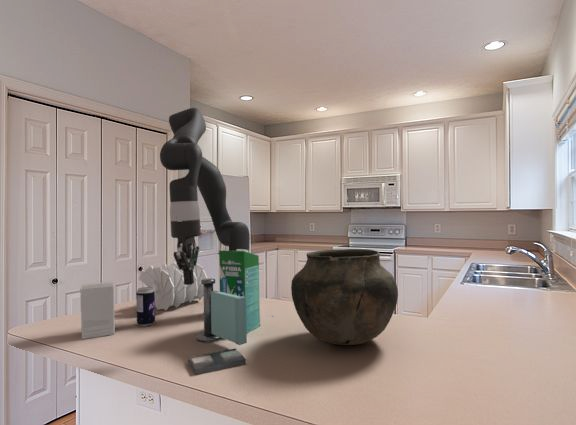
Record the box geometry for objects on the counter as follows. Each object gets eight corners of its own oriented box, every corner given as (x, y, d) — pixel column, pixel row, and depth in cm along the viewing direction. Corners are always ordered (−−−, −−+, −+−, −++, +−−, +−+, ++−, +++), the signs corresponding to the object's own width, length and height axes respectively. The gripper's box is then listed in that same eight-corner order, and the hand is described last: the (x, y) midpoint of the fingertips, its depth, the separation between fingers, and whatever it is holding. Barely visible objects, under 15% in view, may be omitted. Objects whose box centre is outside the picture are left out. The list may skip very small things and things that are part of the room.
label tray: (235, 353, 94) (235, 346, 94) (246, 364, 87) (245, 357, 87) (188, 362, 89) (188, 355, 89) (195, 374, 82) (195, 367, 82)
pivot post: (217, 332, 111) (216, 276, 111) (224, 339, 105) (223, 280, 105) (194, 336, 108) (193, 279, 108) (199, 343, 102) (198, 282, 102)
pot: (273, 356, 91) (271, 257, 91) (309, 321, 121) (308, 246, 121) (394, 372, 81) (392, 260, 81) (401, 329, 111) (400, 247, 111)
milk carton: (260, 326, 117) (258, 248, 117) (245, 334, 109) (243, 250, 109) (236, 323, 121) (234, 247, 121) (220, 331, 113) (218, 250, 113)
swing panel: (210, 334, 104) (209, 291, 104) (217, 331, 105) (216, 290, 106) (239, 345, 94) (238, 298, 94) (246, 342, 96) (245, 297, 96)
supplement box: (114, 327, 119) (113, 281, 119) (114, 334, 111) (114, 285, 111) (82, 331, 115) (81, 283, 115) (80, 339, 107) (80, 288, 107)
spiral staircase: (205, 309, 155) (159, 322, 133) (178, 288, 163) (130, 297, 141) (220, 271, 153) (176, 277, 131) (192, 252, 161) (146, 255, 139)
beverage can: (151, 327, 118) (150, 289, 118) (133, 327, 118) (133, 290, 118) (157, 321, 124) (157, 286, 124) (141, 322, 124) (140, 286, 124)
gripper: (180, 218, 103) (184, 279, 104) (160, 220, 90) (164, 290, 90) (206, 217, 103) (210, 278, 103) (190, 219, 89) (194, 289, 90)
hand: (188, 284), depth 97 cm, fingers closed
